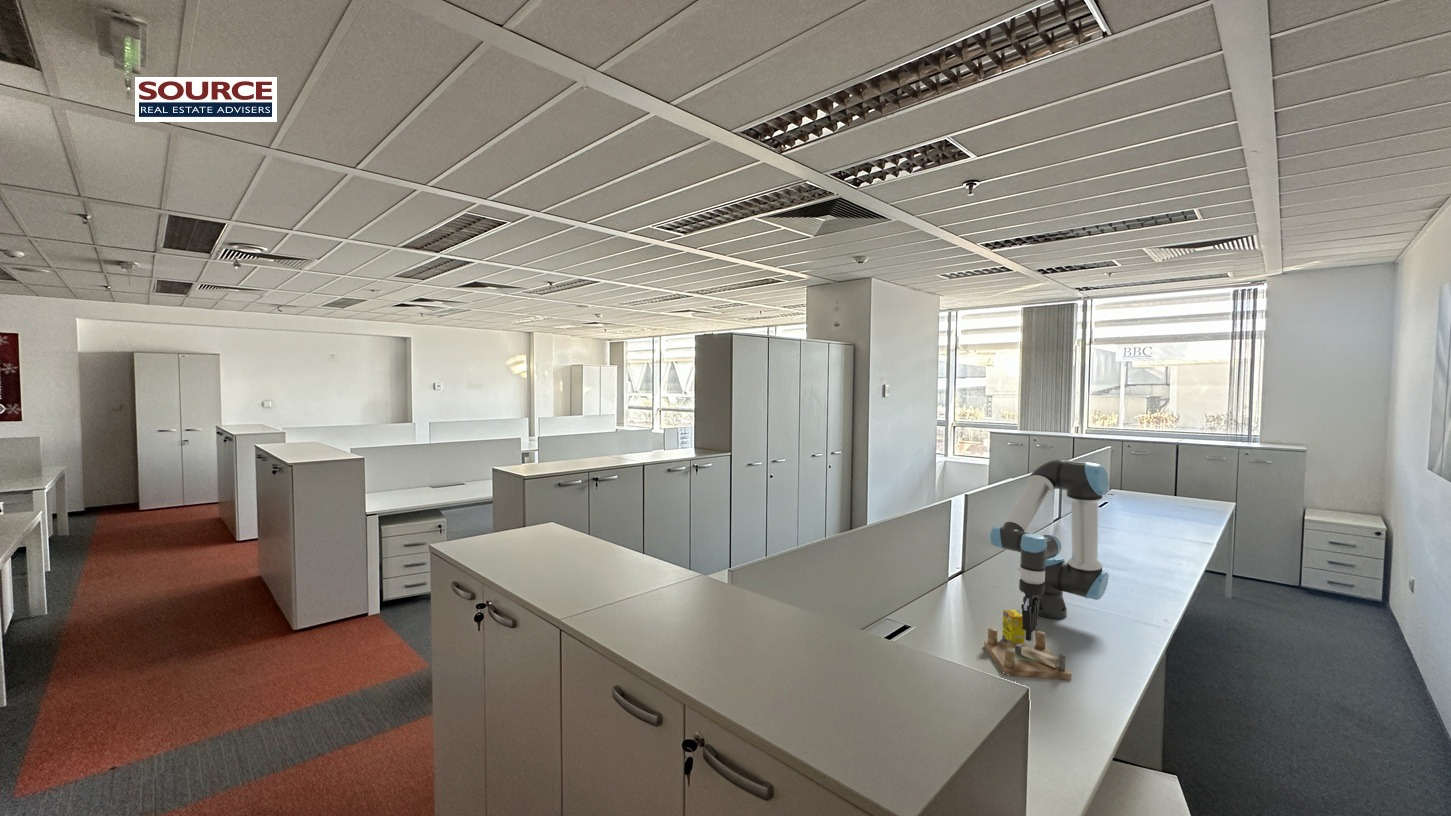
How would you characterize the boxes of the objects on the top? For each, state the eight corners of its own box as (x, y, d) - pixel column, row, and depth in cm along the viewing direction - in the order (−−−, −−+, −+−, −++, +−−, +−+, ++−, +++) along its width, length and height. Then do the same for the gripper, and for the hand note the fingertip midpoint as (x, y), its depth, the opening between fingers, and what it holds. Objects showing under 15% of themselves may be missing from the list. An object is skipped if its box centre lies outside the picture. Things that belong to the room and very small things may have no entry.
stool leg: (1058, 665, 183) (1058, 657, 183) (1055, 668, 182) (1055, 660, 182) (1018, 650, 193) (1018, 643, 193) (1014, 652, 192) (1015, 645, 192)
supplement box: (1001, 638, 208) (1002, 609, 207) (1017, 638, 208) (1018, 609, 208) (1011, 646, 202) (1012, 616, 201) (1027, 646, 202) (1028, 616, 202)
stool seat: (1043, 650, 199) (1044, 630, 199) (1071, 679, 179) (1072, 658, 179) (984, 646, 202) (985, 627, 201) (1004, 674, 182) (1005, 653, 181)
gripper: (1025, 573, 199) (1023, 639, 200) (1013, 582, 190) (1010, 651, 191) (1049, 578, 194) (1046, 646, 195) (1038, 588, 184) (1035, 658, 185)
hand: (1028, 648), depth 193 cm, fingers closed
